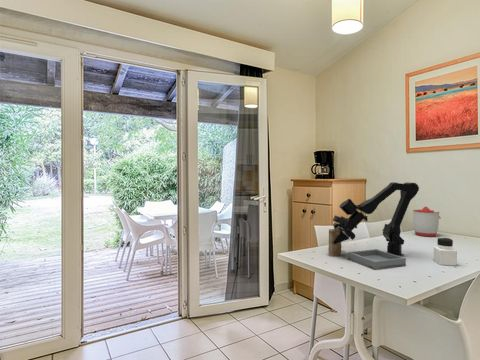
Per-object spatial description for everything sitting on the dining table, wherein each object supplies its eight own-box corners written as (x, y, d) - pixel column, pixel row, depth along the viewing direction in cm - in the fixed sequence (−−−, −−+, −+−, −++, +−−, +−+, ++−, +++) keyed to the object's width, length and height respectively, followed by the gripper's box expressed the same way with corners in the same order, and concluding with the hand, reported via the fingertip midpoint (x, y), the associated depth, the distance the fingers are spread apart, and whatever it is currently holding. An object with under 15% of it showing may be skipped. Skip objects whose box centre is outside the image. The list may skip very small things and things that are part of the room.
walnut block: (337, 253, 164) (338, 229, 163) (341, 255, 159) (341, 231, 158) (328, 253, 163) (328, 229, 163) (331, 256, 158) (331, 231, 158)
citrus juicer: (446, 237, 204) (447, 207, 204) (420, 237, 205) (421, 207, 204) (432, 233, 220) (432, 205, 219) (408, 233, 220) (408, 205, 220)
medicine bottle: (456, 265, 142) (457, 240, 142) (439, 265, 143) (440, 239, 143) (449, 261, 149) (449, 237, 148) (433, 260, 150) (433, 236, 150)
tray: (376, 255, 159) (376, 249, 159) (405, 265, 142) (405, 258, 142) (347, 259, 153) (347, 252, 153) (374, 269, 136) (374, 261, 136)
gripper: (336, 208, 170) (316, 228, 170) (349, 212, 151) (326, 234, 151) (350, 222, 170) (330, 242, 170) (364, 228, 152) (342, 250, 152)
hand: (332, 242), depth 161 cm, fingers closed on walnut block, 5 cm apart
